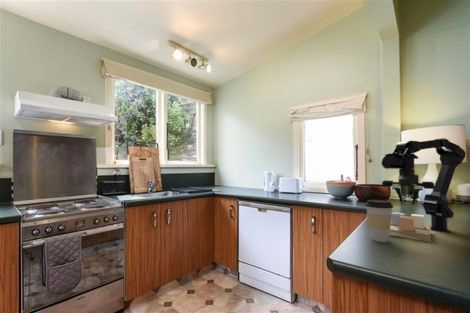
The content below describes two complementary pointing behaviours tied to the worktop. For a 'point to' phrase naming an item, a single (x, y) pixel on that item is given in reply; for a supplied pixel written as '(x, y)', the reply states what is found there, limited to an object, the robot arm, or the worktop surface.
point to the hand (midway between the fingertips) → (407, 203)
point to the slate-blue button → (396, 218)
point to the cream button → (418, 221)
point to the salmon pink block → (406, 223)
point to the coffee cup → (379, 219)
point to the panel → (411, 233)
